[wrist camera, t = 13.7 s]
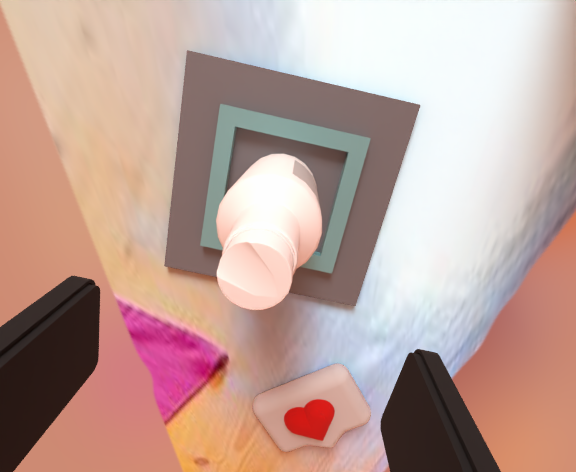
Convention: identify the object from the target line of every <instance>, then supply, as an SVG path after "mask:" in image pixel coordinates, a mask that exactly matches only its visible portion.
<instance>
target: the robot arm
mask: <svg viewBox="0 0 576 472" xmlns="http://www.w3.org/2000/svg"><path fill="white" fill-rule="evenodd" d="M99 314H100V288H99V287H98V286H95V282H94V281H93V280H91V279H87V278H82V277H77V276H71V277H69V278H67V279H66V280H65V281H63V282H62V283H60V284H59V285H58V286H56V287H55V288H54V289H52V290H51V291H49V292H48V293H47V294H45V295H44V296H43V297H41V298H40V299H38V300H37V301H36V302H34V303H33V304H31V305H30V306H29V307H27V308H26V309H25V310H23V311H22V312H21V313H19V314H18V315H16V316H15V317H14V318H12V319H11V320H10V321H8V322H7V323H5V324H4V325H2V326H1V327H0V472H13V471H14V470H15V469H16V468H17V466H18V465H19V464H20V463H21V461H22V460H23V459H24V457H25V456H26V455H27V454H28V453H29V451H30V450H31V449H32V447H33V446H34V445H35V444H36V443H37V441H38V440H39V439H40V438H41V436H42V435H43V434H44V433H45V431H46V430H47V429H48V428H49V426H50V425H51V424H52V423H53V421H54V420H55V419H56V418H57V416H58V415H59V414H60V413H61V411H62V410H63V408H65V406H66V405H67V404H68V403H69V401H70V400H71V399H72V397H73V396H74V395H75V394H76V392H77V391H78V390H79V389H80V387H81V386H82V385H83V384H84V383H85V381H86V380H87V379H88V378H89V376H90V375H91V374H92V373H93V371H94V370H95V367H96V365H97V362H98V351H99V350H98V349H99ZM381 433H382V437H383V442H384V446H385V450H386V455H387V459H388V463H389V468H390V472H501V471H500V469H499V467H498V465H497V463H496V462H495V460H494V458H493V456H492V454H491V452H490V450H489V448H488V447H487V445H486V443H485V441H484V439H483V437H482V435H481V433H480V431H479V430H478V428H477V426H476V424H475V422H474V420H473V418H472V416H471V415H470V413H469V411H468V409H467V407H466V405H465V403H464V401H463V399H462V398H461V396H460V394H459V392H458V390H457V388H456V386H455V384H454V383H453V381H452V379H451V377H450V375H449V373H448V371H447V369H446V367H445V366H444V364H443V362H442V360H441V358H440V356H439V355H438V354H437V353H435V352H430V351H425V350H421V349H417V350H415V352H414V353H409V354H408V356H407V358H406V360H405V363H404V365H403V368H402V370H401V372H400V375H399V377H398V380H397V382H396V384H395V387H394V389H393V392H392V394H391V396H390V399H389V401H388V404H387V406H386V408H385V411H384V413H383V416H382V419H381Z"/></svg>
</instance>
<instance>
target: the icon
mask: <svg viewBox="0 0 576 472" xmlns="http://www.w3.org/2000/svg"><path fill="white" fill-rule="evenodd" d="M252 407H253V412H254V414H255V416H256V417H257V418H258V420H259V421H260V423H261V424H262V425H263V427H264V428H265V430H266V431H267V432H268V434H269V435H270V437H271V438H272V439H273V441H274V442H275V444H276V445H277V446H278V448H279V449H280V450H282V451H284V452H290V451H293V450H295V449H298V448H301V447H304V446H307V445H311V446H318V447H326V448H333V447H334V445H335V444H336V443H337V441H338V440H339V439H340V437H341V436H342V435H343V433H344V432H346V431H348V430H351V429H354V428H356V427H359V426H362V425H364V424H366V423H367V422H368V421H369V419H370V416H371V411H370V407H369V405H368V403H367V402H366V400H365V398H364V396H363V395H362V393H361V391H360V389H359V388H358V386H357V384H356V382H355V381H354V379H353V377H352V376H351V374H350V372H349V370H348V369H347V368H346V367H345V366H344V365H342V364H333V365H330V366H328V367H325V368H323V369H320V370H318V371H315V372H313V373H310V374H308V375H305V376H303V377H300V378H298V379H295V380H293V381H290V382H288V383H285V384H283V385H280V386H278V387H275V388H273V389H270V390H268V391H265V392H263V393H260V394H259V395H257V396H256V397H255V399H254V401H253V406H252Z"/></svg>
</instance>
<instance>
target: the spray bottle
mask: <svg viewBox="0 0 576 472" xmlns="http://www.w3.org/2000/svg"><path fill="white" fill-rule="evenodd" d="M216 225H217V234H218V238H219V241H220V243H221V245H222V247H223V251H222V257H221V259H220V263H219V266H218V269H217V281H218V284H219V286H220V288H221V291H222V293H223V294H224V295H225V296H226V297H227V298H228V299H229V300H230V301H231V302H232V303H234V304H236V305H238V306H239V307H242V308H246V309H249V310H264V309H267V308H270V307H273V306H275V305H276V304H278V303H279V302H281V301H282V300H283V299H284V298H285V296H286V295H287V294H288V292H289V290H290V287H291V284H292V278H293V275H294V273H295V271H296V269H297V268H298V267H300V266H301V265H303V264H304V263H306V262H307V261H308V260H309V258H310V257H311V256H312V254H313V253H314V252H315V250H316V249H317V247H318V244H319V241H320V238H321V235H322V215H321V209H320V204H319V198H318V192H317V186H316V182H315V180H314V177H313V174H312V172H311V171H310V170H309V168H308V167H307V166H306V164H305V163H303V162H302V161H300V160H299V159H297V158H296V157H294V156H290V155H287V154H270V155H268V156H265V157H262V158H260V159H259V160H258V161H256V162H255V163H254V164H253V165H251V166H250V168H249V169H248V170H247V171H246V172H245V173H244V174H243V175H242V176H241V177H240V178H239V179H238V181H237V182H236V183H235V184H234V185H233V186H232V187H231V188H230V189H229V190H228V192H227V193H226V195H225V196H224V198H223V200H222V201H221V203H220V205H219V209H218V214H217V218H216Z"/></svg>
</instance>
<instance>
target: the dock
mask: <svg viewBox="0 0 576 472" xmlns="http://www.w3.org/2000/svg"><path fill="white" fill-rule="evenodd" d="M419 108H420V105H418V104H414V103H410V102H405V101H401V100H397V99H392V98H388V97H384V96H380V95H375V94H371V93H367V92H363V91H358V90H354V89H350V88H346V87H341V86H337V85H333V84H329V83H324V82H320V81H316V80H311V79H307V78H303V77H299V76H294V75H290V74H286V73H282V72H277V71H273V70H269V69H265V68H260V67H256V66H252V65H247V64H243V63H239V62H235V61H230V60H226V59H222V58H218V57H213V56H209V55H205V54H201V53H196V52H192V51H188V50H187V57H186V67H185V76H184V86H183V95H182V104H181V114H180V123H179V133H178V142H177V152H176V161H175V171H174V180H173V190H172V199H171V209H170V218H169V228H168V237H167V247H166V256H165V266H166V267H171V268H176V269H181V270H185V271H190V272H195V273H200V274H205V275H209V276H214V277H217V269H218V266H219V263H220V259H221V257H222V251H223V247H222V245H221V243H220V241H219V238H218V234H217V225H216V218H217V214H218V209H219V205H220V203H221V201H222V200H223V198H224V196H225V195H226V193H227V192H228V190H229V189H230V188H231V187H232V186H233V185H234V184H235V183H236V182H237V181H238V179H239V178H240V177H241V176H242V175H243V174H244V173H245V172H246V171H247V170H248V169H249V168H250V166H251V165H253V164H254V163H255V162H256V161H258V160H259V159H260V158H262V157H265V156H268V155H270V154H287V155H290V156H294V157H296V158H297V159H299V160H300V161H302V162H303V163H305V164H306V166H307V167H308V168H309V170H310V171H311V172H312V174H313V177H314V180H315V182H316V186H317V192H318V198H319V204H320V209H321V215H322V235H321V238H320V241H319V244H318V247H317V249H316V250H315V252H314V253H313V254H312V256H311V257H310V258H309V260H308V261H307V262H306V263H304V264H303V265H301V266H300V267H298V268H297V269H296V271H295V273H294V275H293V278H292V284H291V287H290V290H289V292H291V293H295V294H300V295H305V296H310V297H314V298H319V299H324V300H329V301H333V302H338V303H343V304H348V305H353V306H356V302H357V299H358V296H359V293H360V290H361V287H362V284H363V281H364V278H365V275H366V272H367V268H368V265H369V262H370V259H371V256H372V253H373V250H374V247H375V244H376V241H377V238H378V235H379V231H380V228H381V225H382V222H383V219H384V216H385V213H386V210H387V207H388V204H389V201H390V198H391V194H392V191H393V188H394V185H395V182H396V179H397V176H398V173H399V170H400V167H401V164H402V160H403V157H404V154H405V151H406V148H407V145H408V142H409V139H410V136H411V133H412V130H413V127H414V123H415V120H416V117H417V114H418V111H419Z"/></svg>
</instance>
